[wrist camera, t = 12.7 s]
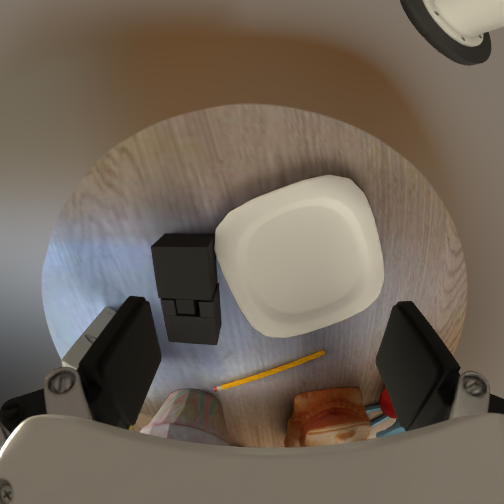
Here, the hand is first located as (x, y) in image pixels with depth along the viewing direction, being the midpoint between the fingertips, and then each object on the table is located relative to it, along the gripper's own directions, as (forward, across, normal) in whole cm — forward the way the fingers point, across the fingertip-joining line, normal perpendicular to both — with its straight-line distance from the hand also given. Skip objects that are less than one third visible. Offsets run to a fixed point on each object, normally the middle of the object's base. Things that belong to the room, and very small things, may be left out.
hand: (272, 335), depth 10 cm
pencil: (+21, -1, +24) cm, 32 cm away
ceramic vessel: (+21, -12, +37) cm, 44 cm away
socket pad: (+21, +8, +12) cm, 26 cm away
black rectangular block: (+21, +9, +6) cm, 23 cm away
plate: (+21, -4, +6) cm, 23 cm away
